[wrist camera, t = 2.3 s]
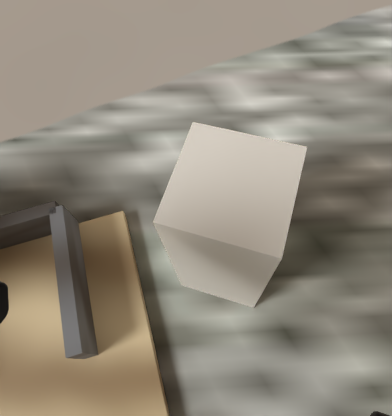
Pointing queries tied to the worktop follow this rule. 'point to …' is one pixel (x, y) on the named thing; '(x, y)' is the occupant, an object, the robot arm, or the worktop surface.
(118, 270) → the dock station
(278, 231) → the block
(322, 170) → the worktop surface
